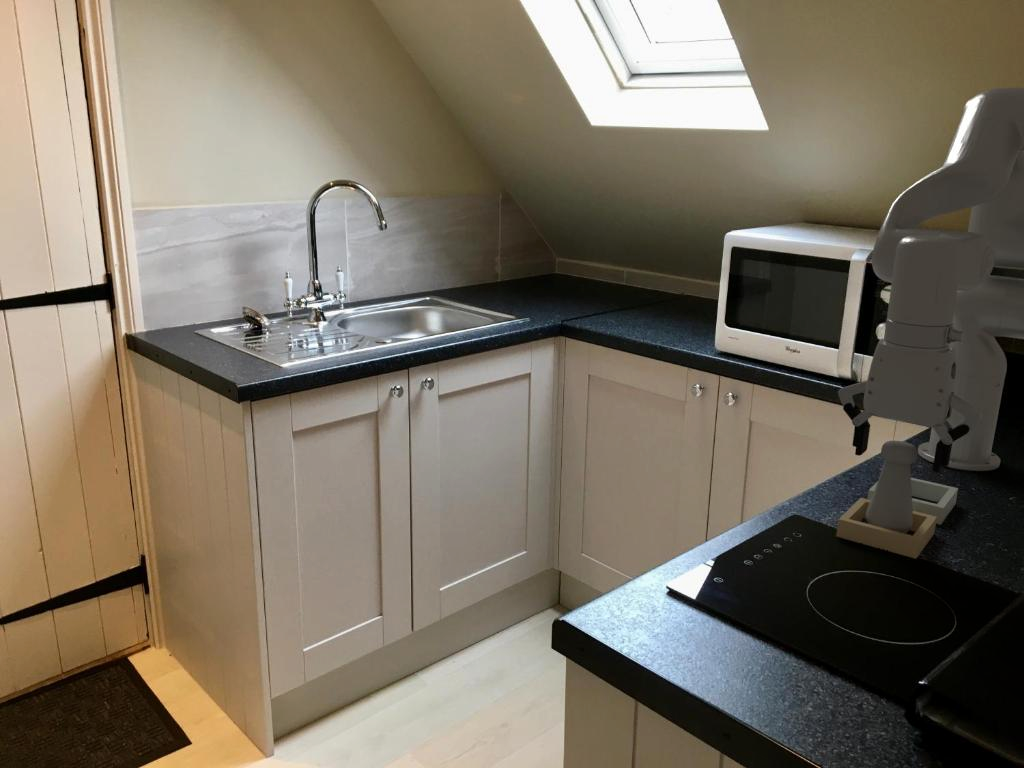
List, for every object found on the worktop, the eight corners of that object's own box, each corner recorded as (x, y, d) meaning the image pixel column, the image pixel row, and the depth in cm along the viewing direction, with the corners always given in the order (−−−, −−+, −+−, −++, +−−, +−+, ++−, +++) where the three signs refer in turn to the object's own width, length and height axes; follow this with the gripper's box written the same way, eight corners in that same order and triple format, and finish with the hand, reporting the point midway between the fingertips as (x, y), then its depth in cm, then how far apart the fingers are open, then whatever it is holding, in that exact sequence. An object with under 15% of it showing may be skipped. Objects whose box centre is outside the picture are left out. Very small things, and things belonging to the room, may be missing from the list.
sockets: (884, 487, 132) (887, 472, 132) (955, 504, 127) (958, 488, 126) (836, 536, 114) (838, 519, 113) (916, 558, 108) (919, 540, 107)
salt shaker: (897, 526, 118) (911, 436, 115) (918, 544, 112) (933, 450, 109) (856, 525, 118) (869, 436, 114) (874, 543, 112) (889, 450, 109)
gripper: (998, 339, 106) (976, 468, 111) (855, 320, 116) (840, 439, 121) (987, 350, 100) (964, 485, 105) (838, 330, 110) (823, 454, 115)
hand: (898, 461), depth 113 cm, fingers open, 9 cm apart
